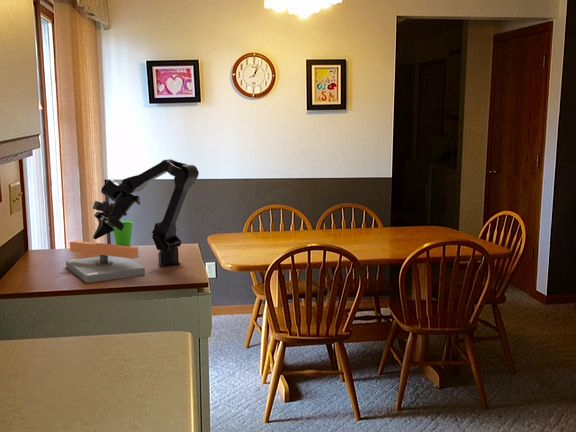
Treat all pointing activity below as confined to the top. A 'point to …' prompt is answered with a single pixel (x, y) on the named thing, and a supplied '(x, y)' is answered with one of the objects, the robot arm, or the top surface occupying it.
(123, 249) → the handle
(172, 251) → the robot arm
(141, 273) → the panel
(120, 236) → the cup
